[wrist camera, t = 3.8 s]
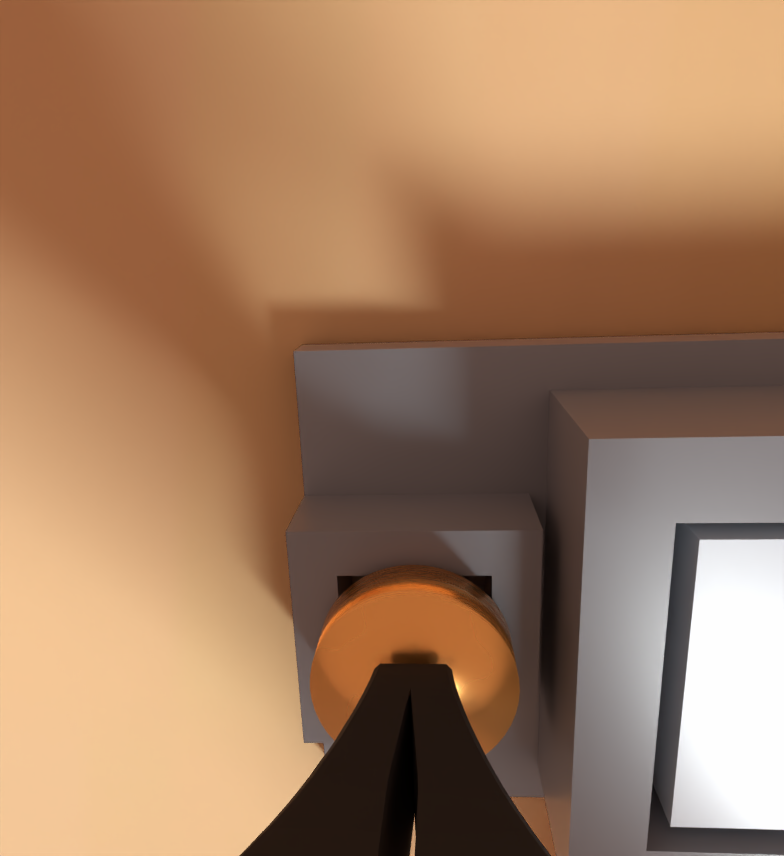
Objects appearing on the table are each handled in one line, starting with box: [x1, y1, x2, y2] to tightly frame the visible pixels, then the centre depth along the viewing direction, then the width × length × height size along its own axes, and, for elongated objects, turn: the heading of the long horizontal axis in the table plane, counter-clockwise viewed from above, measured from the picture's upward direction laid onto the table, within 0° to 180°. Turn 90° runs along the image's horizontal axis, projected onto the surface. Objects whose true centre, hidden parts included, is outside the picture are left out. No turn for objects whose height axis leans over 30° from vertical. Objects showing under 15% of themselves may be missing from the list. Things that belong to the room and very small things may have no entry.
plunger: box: [310, 565, 520, 754], centre depth 14 cm, size 4×4×3 cm
